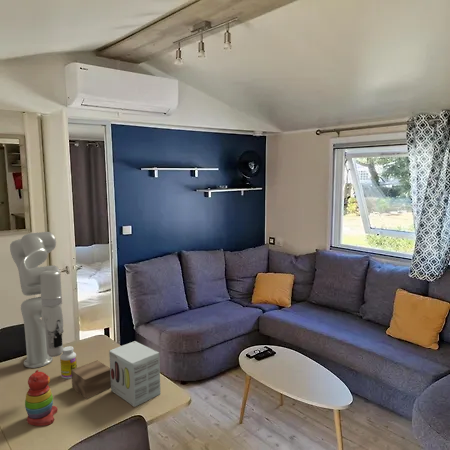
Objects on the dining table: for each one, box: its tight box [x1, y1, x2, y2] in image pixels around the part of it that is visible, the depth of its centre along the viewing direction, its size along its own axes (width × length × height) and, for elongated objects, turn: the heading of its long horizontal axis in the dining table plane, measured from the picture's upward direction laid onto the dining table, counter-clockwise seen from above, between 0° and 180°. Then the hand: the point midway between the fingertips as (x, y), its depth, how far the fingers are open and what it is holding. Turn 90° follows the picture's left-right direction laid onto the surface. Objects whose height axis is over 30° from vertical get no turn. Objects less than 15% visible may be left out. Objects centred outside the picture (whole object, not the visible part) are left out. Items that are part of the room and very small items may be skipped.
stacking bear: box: [24, 369, 59, 427], centre depth 151 cm, size 11×10×18 cm
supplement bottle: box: [59, 345, 78, 380], centre depth 182 cm, size 7×7×13 cm
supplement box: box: [108, 340, 162, 408], centre depth 167 cm, size 17×13×18 cm
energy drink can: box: [45, 324, 64, 358], centre depth 165 cm, size 6×6×15 cm
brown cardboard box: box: [71, 360, 111, 399], centre depth 172 cm, size 12×12×8 cm
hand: (54, 343), depth 166 cm, fingers closed on energy drink can, 6 cm apart
